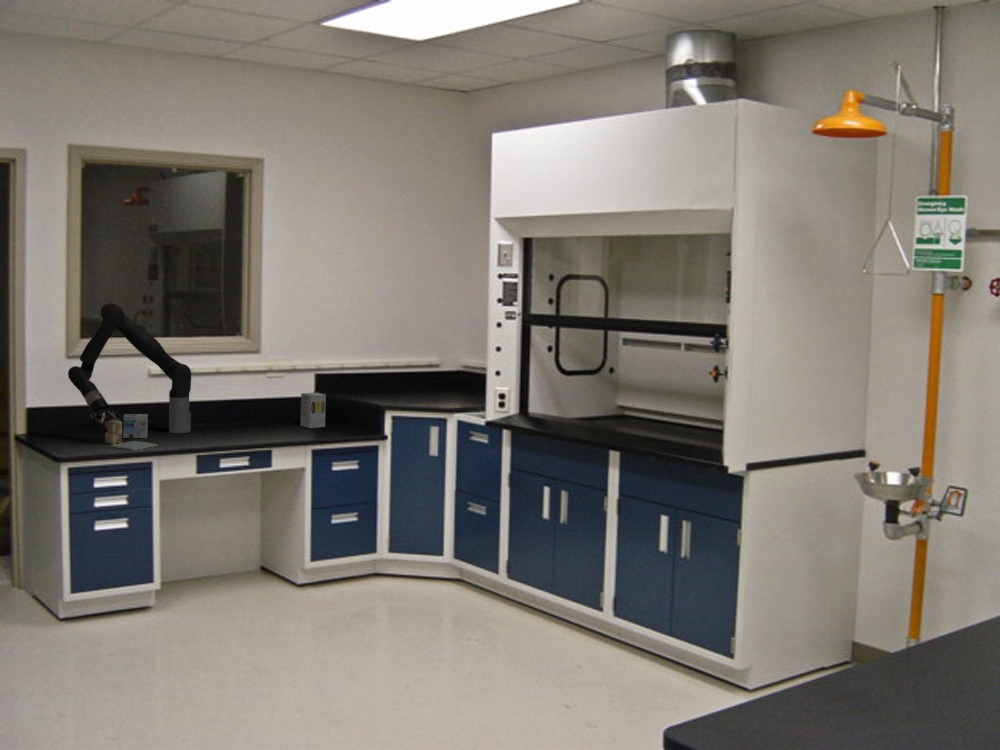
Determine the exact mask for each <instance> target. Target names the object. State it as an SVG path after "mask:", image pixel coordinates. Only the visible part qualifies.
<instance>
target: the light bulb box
mask: <svg viewBox="0 0 1000 750" xmlns="http://www.w3.org/2000/svg"><path fill="white" fill-rule="evenodd" d="M148 417H149V415H148V414H147V413H130V414H129V413H124V415H123V417H122V418H123V420H122V425H123V429H122V439H123V438H147V439H148V437H147V436H149V435H148V434H149V433H148V429H149V427H148V426H149V424H148V420H149V418H148Z"/></svg>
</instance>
